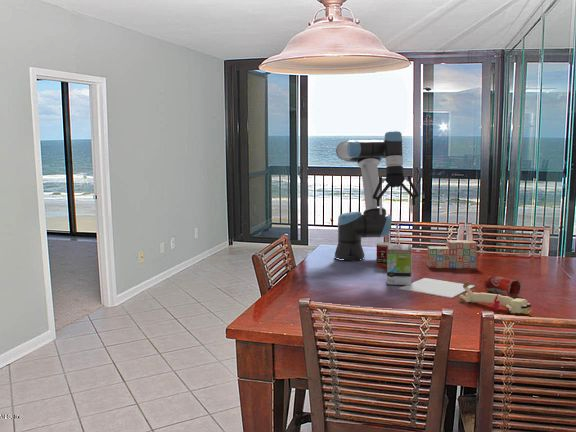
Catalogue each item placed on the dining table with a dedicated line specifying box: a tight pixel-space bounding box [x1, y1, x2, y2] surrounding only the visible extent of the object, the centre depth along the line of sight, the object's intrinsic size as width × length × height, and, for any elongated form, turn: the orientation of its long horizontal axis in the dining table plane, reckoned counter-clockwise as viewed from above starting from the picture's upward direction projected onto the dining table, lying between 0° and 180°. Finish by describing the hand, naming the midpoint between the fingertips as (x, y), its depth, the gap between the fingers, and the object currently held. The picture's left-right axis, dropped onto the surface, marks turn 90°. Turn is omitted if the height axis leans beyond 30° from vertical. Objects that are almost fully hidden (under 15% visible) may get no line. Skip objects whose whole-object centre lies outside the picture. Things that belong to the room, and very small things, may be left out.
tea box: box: [386, 243, 412, 286], centre depth 232 cm, size 15×10×15 cm, turn 168°
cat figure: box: [458, 280, 533, 315], centre depth 194 cm, size 10×9×25 cm
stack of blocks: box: [426, 239, 478, 269], centre depth 260 cm, size 21×6×12 cm, turn 85°
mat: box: [398, 277, 476, 299], centre depth 222 cm, size 22×22×1 cm
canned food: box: [375, 241, 394, 269], centre depth 262 cm, size 8×8×11 cm
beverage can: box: [484, 275, 522, 299], centre depth 211 cm, size 7×12×7 cm, turn 36°
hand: (396, 213), depth 246 cm, fingers open, 13 cm apart
